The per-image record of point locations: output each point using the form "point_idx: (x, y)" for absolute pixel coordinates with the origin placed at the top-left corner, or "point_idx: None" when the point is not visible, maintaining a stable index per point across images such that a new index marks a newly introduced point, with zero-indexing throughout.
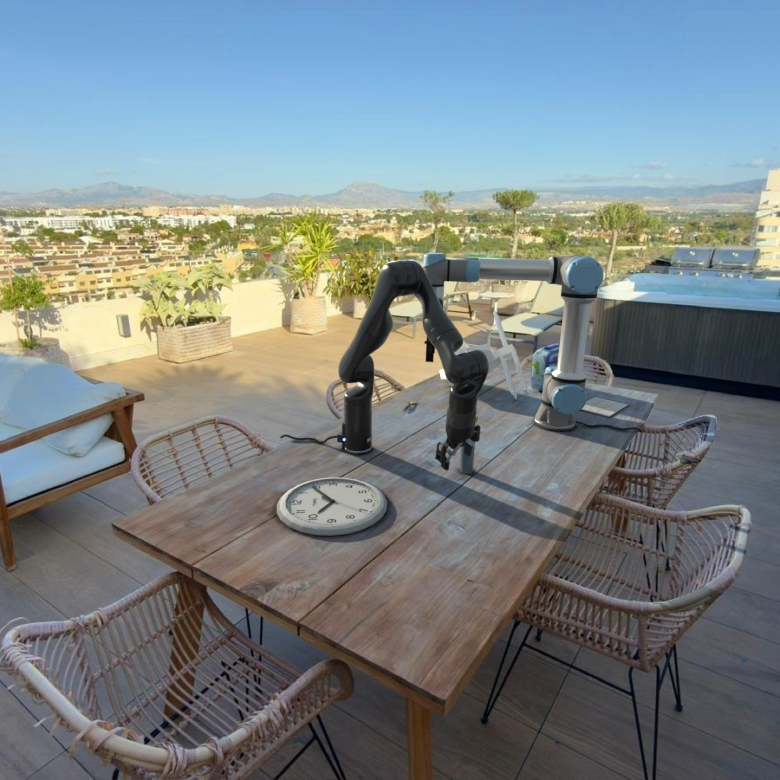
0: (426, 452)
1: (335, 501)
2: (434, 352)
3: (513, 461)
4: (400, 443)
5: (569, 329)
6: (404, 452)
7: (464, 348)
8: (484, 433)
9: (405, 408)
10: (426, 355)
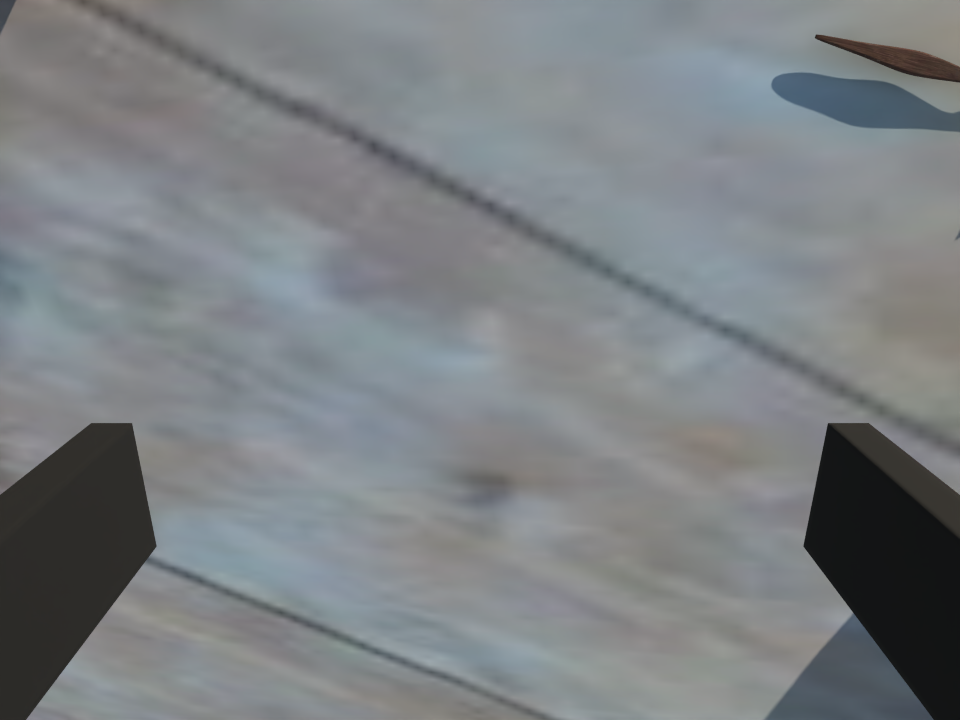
0: (119, 250)
1: None
2: (813, 551)
3: (155, 635)
4: (202, 76)
5: None
6: (73, 117)
7: None
8: (469, 542)
9: (853, 45)
10: (9, 502)
